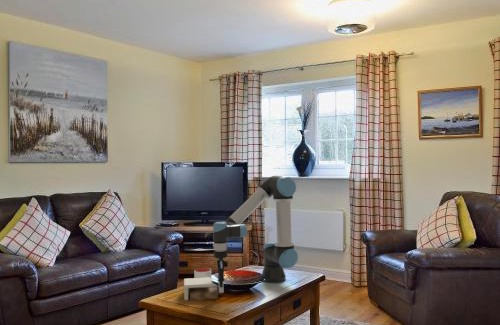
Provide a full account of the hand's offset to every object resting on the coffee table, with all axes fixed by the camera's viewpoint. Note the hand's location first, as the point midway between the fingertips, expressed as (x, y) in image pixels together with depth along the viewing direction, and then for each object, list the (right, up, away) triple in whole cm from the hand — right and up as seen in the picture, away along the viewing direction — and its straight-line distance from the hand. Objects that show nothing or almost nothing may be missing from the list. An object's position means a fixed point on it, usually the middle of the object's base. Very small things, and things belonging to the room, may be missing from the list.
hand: (221, 292), depth 257 cm
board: (-9, -2, -3) cm, 10 cm away
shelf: (-13, -2, -1) cm, 13 cm away
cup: (-12, -2, +16) cm, 20 cm away
